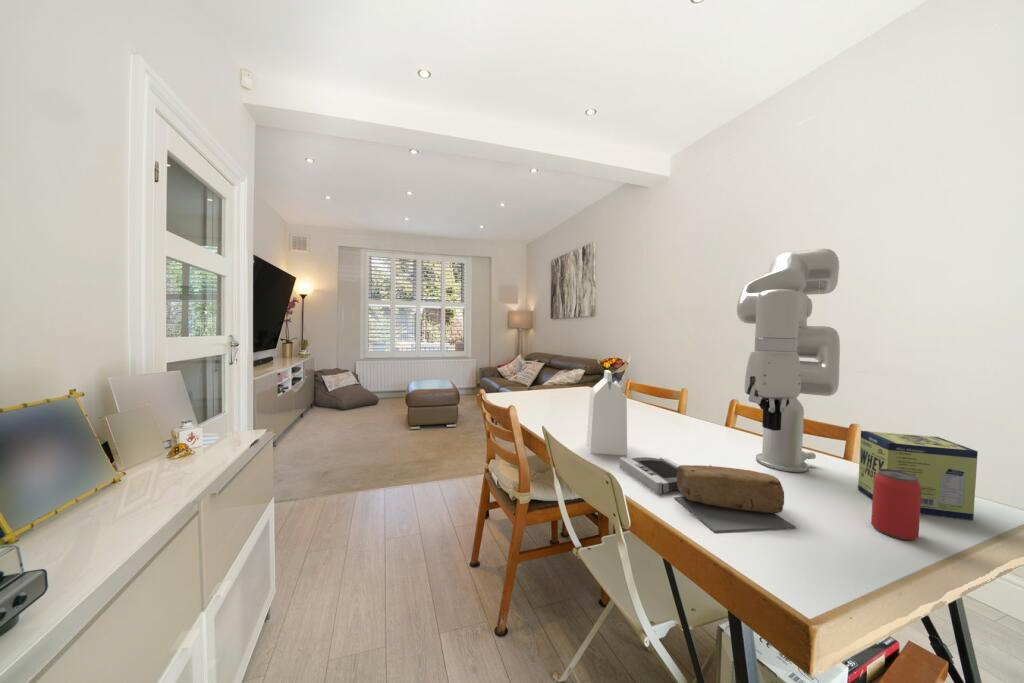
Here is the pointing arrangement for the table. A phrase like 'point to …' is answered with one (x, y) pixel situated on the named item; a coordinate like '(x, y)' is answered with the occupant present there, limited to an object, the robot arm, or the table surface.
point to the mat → (733, 518)
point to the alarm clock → (652, 472)
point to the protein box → (923, 470)
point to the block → (731, 488)
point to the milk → (607, 418)
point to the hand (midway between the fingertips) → (771, 428)
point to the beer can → (896, 504)
